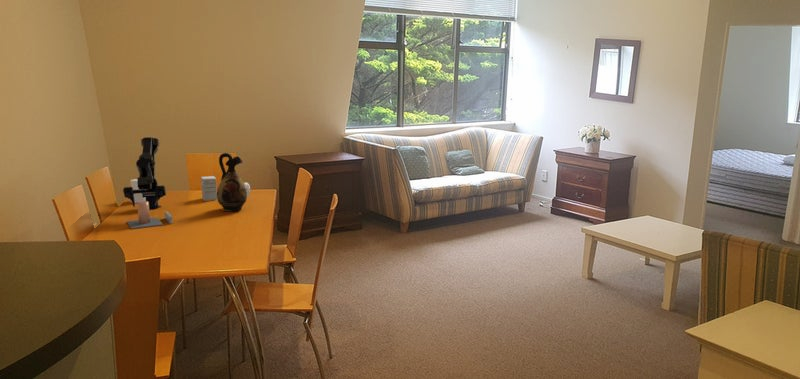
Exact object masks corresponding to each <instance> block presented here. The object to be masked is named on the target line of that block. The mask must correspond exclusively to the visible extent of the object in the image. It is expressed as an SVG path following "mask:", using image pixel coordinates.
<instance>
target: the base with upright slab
mask: <svg viewBox="0 0 800 379" xmlns="http://www.w3.org/2000/svg"><path fill="white" fill-rule="evenodd" d="M129 182H130V187H132V188H133V189H139V188H138V182H137V178H135V179H130V181H129ZM134 200H135V204H137V202H140V201H146V197H144V198H143V196H142V193H137V194H134ZM131 202H132V201H131V200H130V203H131Z"/></svg>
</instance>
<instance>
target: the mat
mask: <svg viewBox="0 0 800 379" xmlns="http://www.w3.org/2000/svg"><path fill="white" fill-rule="evenodd" d="M127 223H128V224H127ZM126 224H127V225H128V227H129V228H130V230H136V229H145V227H146V228H153V226H154V227H159V226H161V227H162V226H164V224H163V222H162V221H161V220H160V219H159V217H150V223H147V224H139V219H133V220H127V221H126Z"/></svg>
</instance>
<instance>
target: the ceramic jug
mask: <svg viewBox="0 0 800 379" xmlns="http://www.w3.org/2000/svg"><path fill="white" fill-rule="evenodd" d="M224 158H228V160H227V161H226V162H225V165H224V162H223V160H224ZM243 162H244V161H243V160H242V159H241V158H240V156H234V157H233V156H232V155H231V154H230V153H228V152H223V153H222V154H220V155H219V157H218V163H219V167H220V169H221V172H222V175H221V180H220V183H219V185H218V187H217V200H216V201H217V202H218V204H219V205H220V206H221V207H222V210H223V211H225V212H233V213H234V212H240V211H242V207H243V206H244V204H246V202H247V200H248V197H247V191H246V187H245V185H244V183H245V182H244V181H243V180H242V178H241V176H240V175H239V174H238V173H237V171H236V166H238V165H240V164H243ZM225 166H226V167H227V170H226V168H225Z"/></svg>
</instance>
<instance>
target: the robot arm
mask: <svg viewBox="0 0 800 379" xmlns="http://www.w3.org/2000/svg"><path fill="white" fill-rule="evenodd" d="M140 146H141V147H142V153H141V154H140V155H139V157H138V159H137V160H136V163H135V165H136V168H137V172H138V177H137V178H136V179H137V182H138V188H139V189H133V188H132V187H131V186H125V187H123V189H122V192H123V194H124V195H123V196H124V198H127V199H128V200H130V202H131V201H132V203H131V204H132V206H133V208H135V206H136V203H135V200H134V194H137V193H142V196H143V198H144V197H146V201H148V202H149V210H156V209H159V208H160V207H162V205H159V201H160V199H161V198H163V197H165V196H167V189H166V186H165V185H159V184H158V181H157V179H156V169H155V168H156V161H155V160H156V154H157V152H158V151H159V146H160V140H159V139H158V138H157V137H152V136H150V137H148V136H147V137H143V138H141V139H140Z"/></svg>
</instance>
